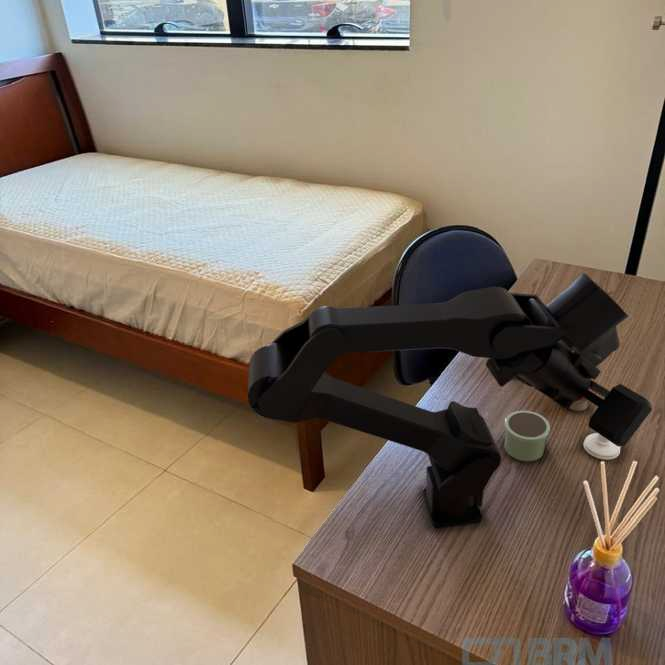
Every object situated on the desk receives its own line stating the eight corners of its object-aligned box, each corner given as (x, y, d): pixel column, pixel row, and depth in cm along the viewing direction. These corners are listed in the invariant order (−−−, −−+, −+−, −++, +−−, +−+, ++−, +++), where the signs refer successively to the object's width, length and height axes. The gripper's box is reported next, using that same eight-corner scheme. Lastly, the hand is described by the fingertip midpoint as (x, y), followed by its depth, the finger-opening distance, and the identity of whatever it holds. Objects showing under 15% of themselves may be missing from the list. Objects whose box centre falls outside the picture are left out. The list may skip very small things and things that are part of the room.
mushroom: (567, 417, 94) (572, 392, 92) (553, 396, 98) (557, 372, 96) (599, 413, 94) (605, 388, 92) (584, 392, 99) (589, 368, 96)
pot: (511, 465, 86) (514, 441, 84) (496, 436, 92) (498, 413, 89) (553, 460, 87) (557, 436, 84) (536, 431, 92) (539, 407, 89)
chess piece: (576, 441, 90) (587, 387, 84) (604, 432, 91) (617, 379, 85) (598, 463, 86) (611, 408, 80) (627, 454, 87) (642, 399, 81)
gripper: (660, 343, 63) (699, 389, 73) (526, 277, 77) (575, 323, 87) (595, 430, 64) (642, 463, 74) (474, 349, 78) (528, 387, 88)
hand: (594, 403), depth 81 cm, fingers open, 9 cm apart
